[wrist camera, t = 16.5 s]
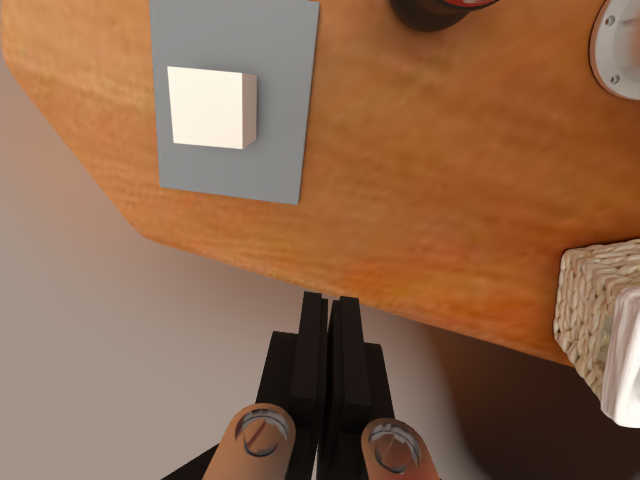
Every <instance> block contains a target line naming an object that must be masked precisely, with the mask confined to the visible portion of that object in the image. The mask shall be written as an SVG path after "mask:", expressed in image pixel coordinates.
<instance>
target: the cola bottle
mask: <svg viewBox="0 0 640 480" xmlns="http://www.w3.org/2000/svg"><path fill="white" fill-rule="evenodd" d="M498 1H499V0H390V2H391V5H392V7H393V9H394V11H395V13H396V14H397V16H398V17H399V18H400V19H401V20H402V21H403V22H404V23H405V24H406V25H408V26H409V27H411V28H413V29H416V30H419V31H426V32H432V31H439V30H443V29H446V28H448V27H450V26H452V25H454V24H456V23H457V22H459V21H460V20H461V19H463V18H464V17H465V16H466V15H467V14H468V13H469V12H470V11H475V10H479V9H482V8H485V7H487V6H490V5H492V4H494V3H496V2H498Z"/></svg>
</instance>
